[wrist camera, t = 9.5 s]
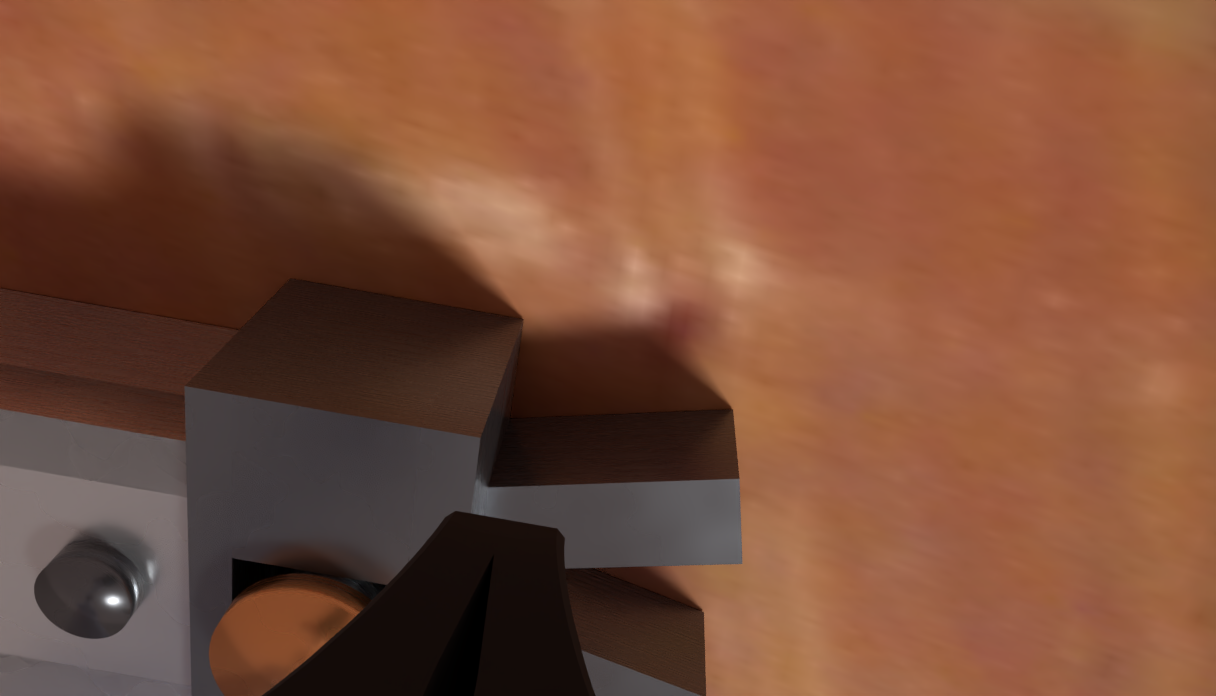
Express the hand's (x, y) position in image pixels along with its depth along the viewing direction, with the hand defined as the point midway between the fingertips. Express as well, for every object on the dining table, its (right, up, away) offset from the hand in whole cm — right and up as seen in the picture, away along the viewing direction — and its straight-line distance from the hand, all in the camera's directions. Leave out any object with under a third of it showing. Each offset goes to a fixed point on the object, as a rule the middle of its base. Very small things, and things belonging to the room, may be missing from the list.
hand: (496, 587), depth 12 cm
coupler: (-3, -1, +11) cm, 12 cm away
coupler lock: (-10, +1, +11) cm, 15 cm away
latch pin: (-4, -1, +10) cm, 11 cm away
